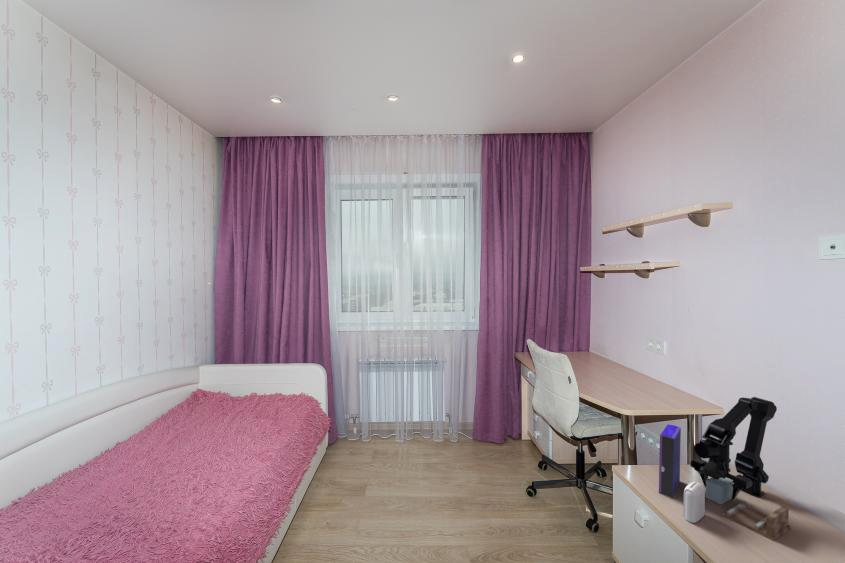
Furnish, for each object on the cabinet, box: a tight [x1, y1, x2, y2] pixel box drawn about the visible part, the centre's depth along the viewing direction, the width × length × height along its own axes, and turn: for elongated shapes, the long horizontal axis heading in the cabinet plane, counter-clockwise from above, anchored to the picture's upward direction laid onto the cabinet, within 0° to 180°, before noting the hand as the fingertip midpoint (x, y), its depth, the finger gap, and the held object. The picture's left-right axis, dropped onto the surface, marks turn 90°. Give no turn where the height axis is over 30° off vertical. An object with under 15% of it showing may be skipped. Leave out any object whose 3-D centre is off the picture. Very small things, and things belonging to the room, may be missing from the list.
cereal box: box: [658, 424, 682, 499], centre depth 148 cm, size 17×5×24 cm, turn 136°
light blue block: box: [705, 477, 734, 505], centre depth 142 cm, size 10×5×7 cm, turn 117°
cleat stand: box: [722, 501, 791, 541], centre depth 127 cm, size 14×14×7 cm
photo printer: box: [682, 481, 706, 524], centre depth 129 cm, size 10×4×12 cm, turn 123°
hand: (719, 493), depth 142 cm, fingers open, 9 cm apart
